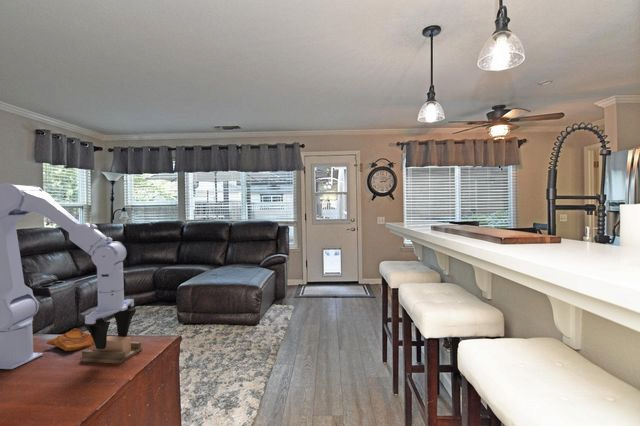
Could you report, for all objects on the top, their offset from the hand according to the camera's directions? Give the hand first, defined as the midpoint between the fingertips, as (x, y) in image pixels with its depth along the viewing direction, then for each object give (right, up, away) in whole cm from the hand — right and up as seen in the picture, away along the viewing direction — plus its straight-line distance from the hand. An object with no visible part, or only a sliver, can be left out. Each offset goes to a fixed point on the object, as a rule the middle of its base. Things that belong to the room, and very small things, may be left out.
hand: (112, 342), depth 88 cm
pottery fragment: (-15, -4, +7) cm, 17 cm away
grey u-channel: (0, -3, 0) cm, 3 cm away
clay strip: (0, -3, 0) cm, 3 cm away
